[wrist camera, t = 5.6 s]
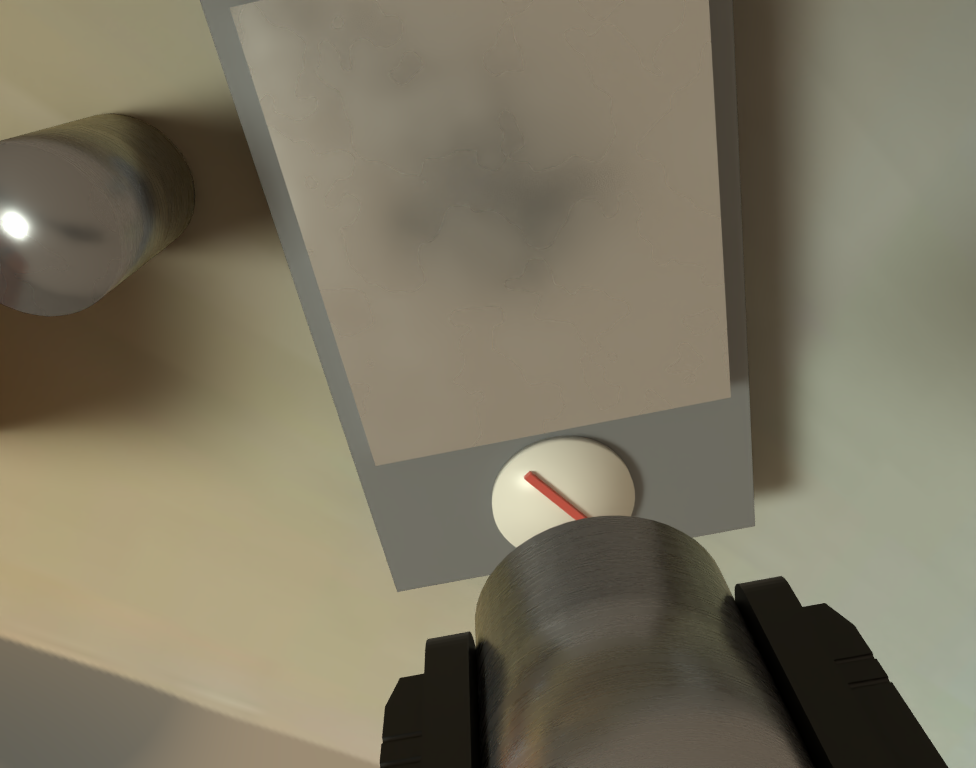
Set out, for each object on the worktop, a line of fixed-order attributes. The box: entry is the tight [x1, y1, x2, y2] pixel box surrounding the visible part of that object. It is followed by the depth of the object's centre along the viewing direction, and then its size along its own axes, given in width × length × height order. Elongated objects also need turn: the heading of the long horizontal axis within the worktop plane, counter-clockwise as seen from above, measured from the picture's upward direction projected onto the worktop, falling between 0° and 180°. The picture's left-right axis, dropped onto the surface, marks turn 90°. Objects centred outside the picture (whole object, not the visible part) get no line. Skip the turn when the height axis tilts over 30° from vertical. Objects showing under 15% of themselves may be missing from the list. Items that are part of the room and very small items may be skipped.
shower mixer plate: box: [230, 0, 731, 466], centre depth 22 cm, size 14×12×1 cm
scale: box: [200, 0, 755, 592], centre depth 24 cm, size 21×14×3 cm, turn 11°
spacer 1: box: [0, 114, 195, 316], centre depth 21 cm, size 4×4×6 cm
